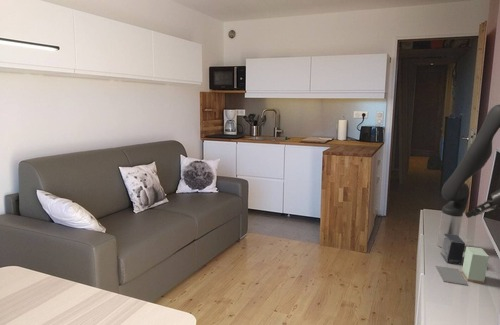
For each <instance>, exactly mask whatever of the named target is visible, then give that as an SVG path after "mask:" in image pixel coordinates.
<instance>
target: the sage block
mask: <svg viewBox="0 0 500 325" xmlns="http://www.w3.org/2000/svg"><path fill="white" fill-rule="evenodd" d="M489 259H490V255H488V254H487V252H486V251H485V250H484V249H483V248H480V247H474V246H468V245H467V246H466V247H465V252H464V258H463V263H462V264H463V265H462V269H461V274H462V276H463V278H464V279H465V281H466V282H467V283H468V282H469V283H477V284H483V285H484V284H485V278H486V273H487V269H488V268H487V267H488V264H489Z"/></svg>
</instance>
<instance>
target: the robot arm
mask: <svg viewBox="0 0 500 325" xmlns="http://www.w3.org/2000/svg"><path fill="white" fill-rule="evenodd" d="M499 130H500V104H496V105H494V106H492V108H490V110H489V111H488V112H487V115H486V117H485V118H484V120H483V123H482V125H481V127H480V129H479V131H478V133H477V134H476V136H475V138H474V139H473V141H472V142H471V144H470V146H469V147H468V149H467V150H466V152H465V154H464V156H463V157H462V159H461V160H460V162H459V164H458V165H457V166H456V168H455V169H454V171H453V173H452V174H451V175H450V176H449V177H448V179H446V181H445V182H444V184H443V186H442V187H441V196H442V198H443V199H444V200H445V201H449V202H448V203H446V204H445V205H443V206H442V209H441V215H440V220H439V227H438V233H437V237H436V239H437V240H436V246H438V247H439V248H441V249H442V245H443V240H444V233H446V234H452V235H458V236H459V237H460V232H461V227H462V221H463V216H464V214H465V216H466V218H467V219H468V218H471V217H476V216H478V215H480V214H484V213H485V212H488V213H489V212H490V211H493V210H495V209H496V207H497V208H498V209H500V188H499V189H498V190H496V191H494V192H492V193H491V194H490V198H491V200H490V199H489V200H485V201H484V202H481V203H480V204H478V205H477V206H475V207H473V208H472V209H471V210H469V211H467V212H465V211H466V209H467V205H468V201H469V197H470V188H469V185H468V183H466V182H467V181H468V180H469V179H470V178H471V177H472V176H474V175H475V174H477V173H478V172H479V171H480V170H481V169H483V167H485V165H486V164H487V162H488V161H489V159H490V157H491V156H492V153H493V140H494V137H495V135H496V134H497V132H498V131H499ZM464 212H465V213H464Z"/></svg>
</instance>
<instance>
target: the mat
mask: <svg viewBox="0 0 500 325" xmlns="http://www.w3.org/2000/svg"><path fill="white" fill-rule="evenodd" d="M435 268H436V270H437V272H438V273H439V276H440V278H441V280H442V281H443V283H449V284H454V285H461V286H469V284H468V281H467V280H466V278H465V277H464V275H463V274H462V272H461V271H460V270H459V268H454V267H447V266H441V265H440V266H439V265H435Z"/></svg>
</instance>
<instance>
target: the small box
mask: <svg viewBox="0 0 500 325" xmlns="http://www.w3.org/2000/svg"><path fill="white" fill-rule="evenodd" d="M465 245H466V243H465V241H463V240H462V238H461V237H460V235H459V236H458V235H452V234H446V233H444V240H443V245H442V248H441V249H440V255H441V257H442V258H443V259H444V261H445V262H446V263H447V264H452V265H453V264H454V265H460V266H461V265H462V261H463V256H464V253H465V252H464V250H465V248H466V247H465Z"/></svg>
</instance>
